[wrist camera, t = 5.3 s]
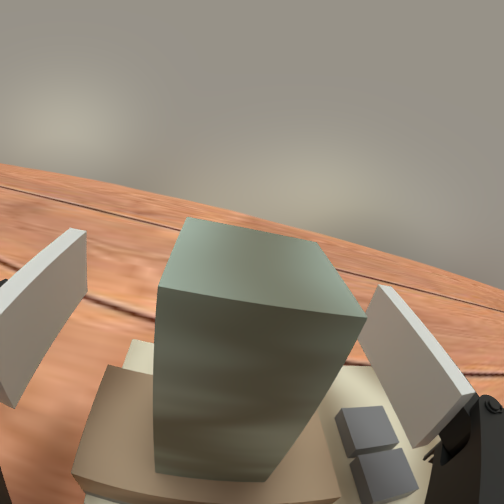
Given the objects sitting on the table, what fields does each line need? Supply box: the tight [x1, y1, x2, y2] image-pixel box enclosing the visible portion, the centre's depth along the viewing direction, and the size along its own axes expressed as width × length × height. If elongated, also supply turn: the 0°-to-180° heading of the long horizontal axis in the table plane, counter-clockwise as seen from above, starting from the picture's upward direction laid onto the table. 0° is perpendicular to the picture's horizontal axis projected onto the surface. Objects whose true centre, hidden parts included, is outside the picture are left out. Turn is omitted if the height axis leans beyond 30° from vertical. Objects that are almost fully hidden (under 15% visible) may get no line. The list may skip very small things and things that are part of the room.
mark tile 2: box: [335, 406, 399, 458], centre depth 14 cm, size 3×3×1 cm
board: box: [84, 339, 441, 504], centre depth 12 cm, size 22×16×2 cm
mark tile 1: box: [349, 448, 419, 504], centre depth 11 cm, size 3×3×1 cm
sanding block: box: [71, 217, 368, 504], centre depth 9 cm, size 10×6×11 cm, turn 94°
